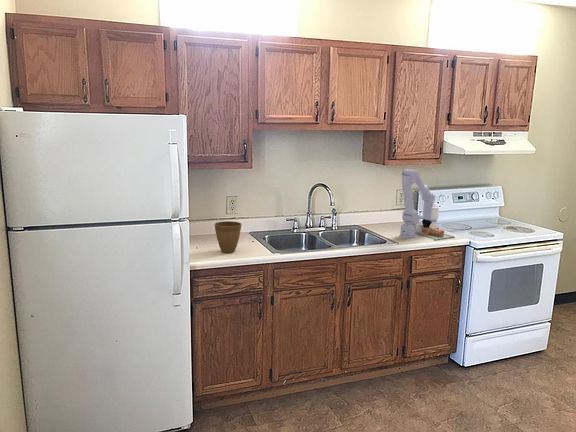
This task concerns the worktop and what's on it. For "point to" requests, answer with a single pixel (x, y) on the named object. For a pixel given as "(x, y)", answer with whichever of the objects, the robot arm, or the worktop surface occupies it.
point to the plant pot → (228, 235)
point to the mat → (418, 232)
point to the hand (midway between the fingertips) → (426, 230)
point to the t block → (432, 231)
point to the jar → (434, 215)
